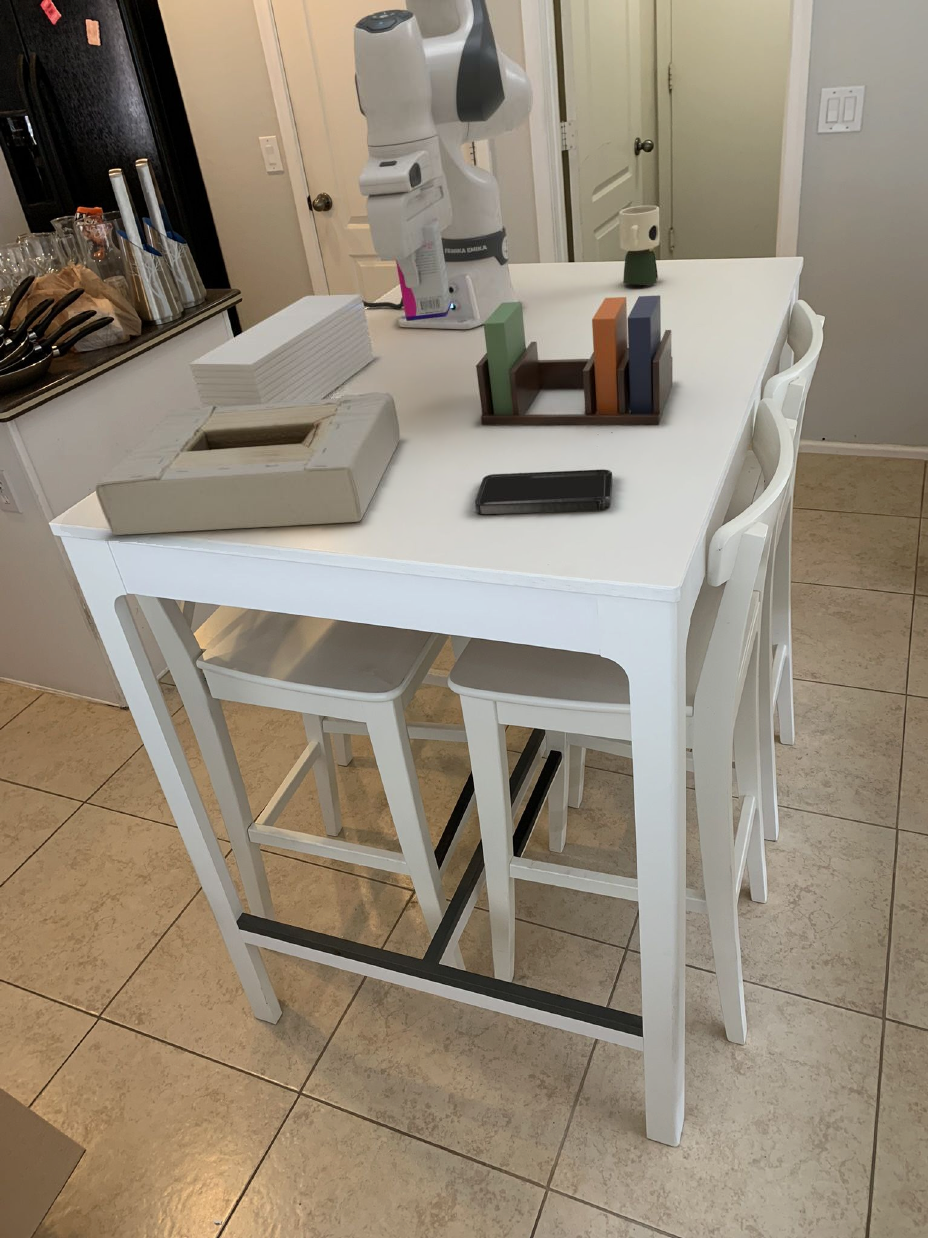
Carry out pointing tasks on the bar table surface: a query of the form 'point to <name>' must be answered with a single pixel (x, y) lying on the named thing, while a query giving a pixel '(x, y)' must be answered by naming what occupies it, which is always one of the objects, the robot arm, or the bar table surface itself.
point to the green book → (504, 351)
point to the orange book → (609, 351)
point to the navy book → (643, 351)
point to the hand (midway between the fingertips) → (423, 278)
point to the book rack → (573, 375)
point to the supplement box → (427, 279)
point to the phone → (545, 492)
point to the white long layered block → (288, 355)
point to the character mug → (639, 243)
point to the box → (254, 466)
